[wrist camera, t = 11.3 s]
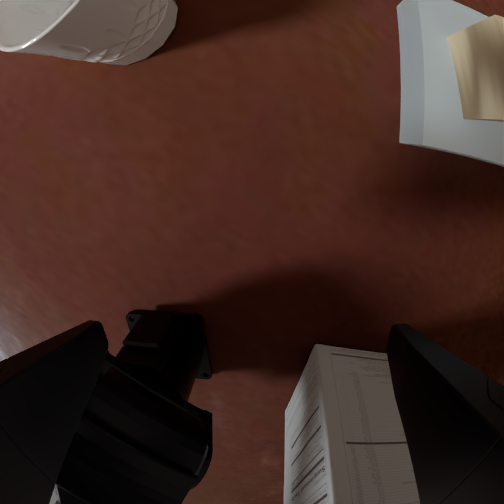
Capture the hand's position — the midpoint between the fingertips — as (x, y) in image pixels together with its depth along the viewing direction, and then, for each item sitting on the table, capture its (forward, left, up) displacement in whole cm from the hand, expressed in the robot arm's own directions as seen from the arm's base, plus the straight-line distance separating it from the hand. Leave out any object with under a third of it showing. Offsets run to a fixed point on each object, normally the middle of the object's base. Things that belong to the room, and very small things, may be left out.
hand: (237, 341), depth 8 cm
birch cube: (+10, -14, -8) cm, 19 cm away
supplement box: (-15, -7, -12) cm, 21 cm away
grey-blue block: (+10, -14, -12) cm, 21 cm away
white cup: (+15, +8, -12) cm, 21 cm away
